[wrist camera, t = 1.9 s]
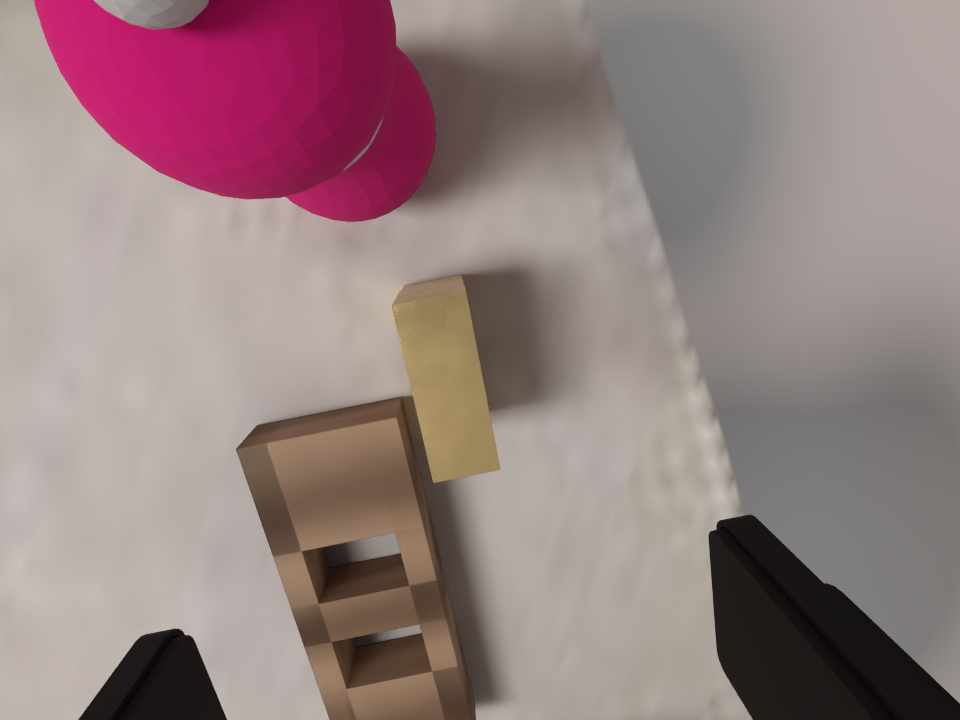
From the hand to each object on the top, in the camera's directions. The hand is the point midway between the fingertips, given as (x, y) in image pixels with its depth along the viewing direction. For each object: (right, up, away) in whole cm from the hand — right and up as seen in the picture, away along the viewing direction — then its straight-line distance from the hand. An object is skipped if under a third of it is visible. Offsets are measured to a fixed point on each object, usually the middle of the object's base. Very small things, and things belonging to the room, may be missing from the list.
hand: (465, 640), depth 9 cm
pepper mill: (-5, +15, +16) cm, 23 cm away
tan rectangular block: (-1, +5, +19) cm, 20 cm away
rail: (-6, -8, +22) cm, 25 cm away
